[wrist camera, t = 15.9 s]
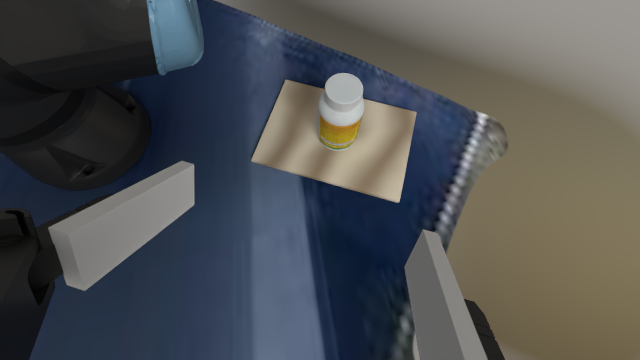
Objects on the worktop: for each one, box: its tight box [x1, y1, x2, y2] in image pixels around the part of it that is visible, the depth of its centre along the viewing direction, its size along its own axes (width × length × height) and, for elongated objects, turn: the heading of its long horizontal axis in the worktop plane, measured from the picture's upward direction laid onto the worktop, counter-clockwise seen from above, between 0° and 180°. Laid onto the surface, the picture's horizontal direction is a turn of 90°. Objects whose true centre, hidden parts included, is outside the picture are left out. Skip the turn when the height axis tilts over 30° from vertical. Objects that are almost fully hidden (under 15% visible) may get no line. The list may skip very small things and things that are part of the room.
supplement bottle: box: [318, 73, 365, 151], centre depth 31 cm, size 5×5×10 cm
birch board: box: [252, 80, 416, 203], centre depth 35 cm, size 20×14×1 cm
